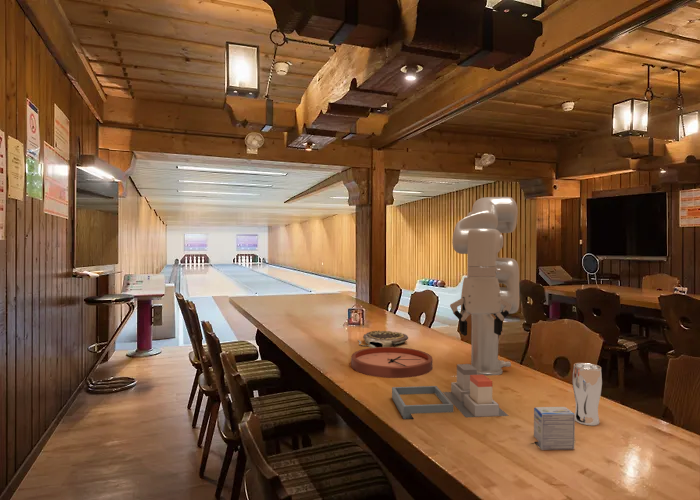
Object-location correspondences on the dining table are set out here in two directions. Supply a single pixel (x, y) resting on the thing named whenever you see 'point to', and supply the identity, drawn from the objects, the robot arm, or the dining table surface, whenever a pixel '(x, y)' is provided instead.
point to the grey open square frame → (412, 409)
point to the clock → (391, 362)
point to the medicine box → (554, 428)
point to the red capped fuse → (480, 389)
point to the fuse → (465, 376)
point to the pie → (384, 338)
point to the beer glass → (587, 392)
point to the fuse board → (472, 404)
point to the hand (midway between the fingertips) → (480, 334)
